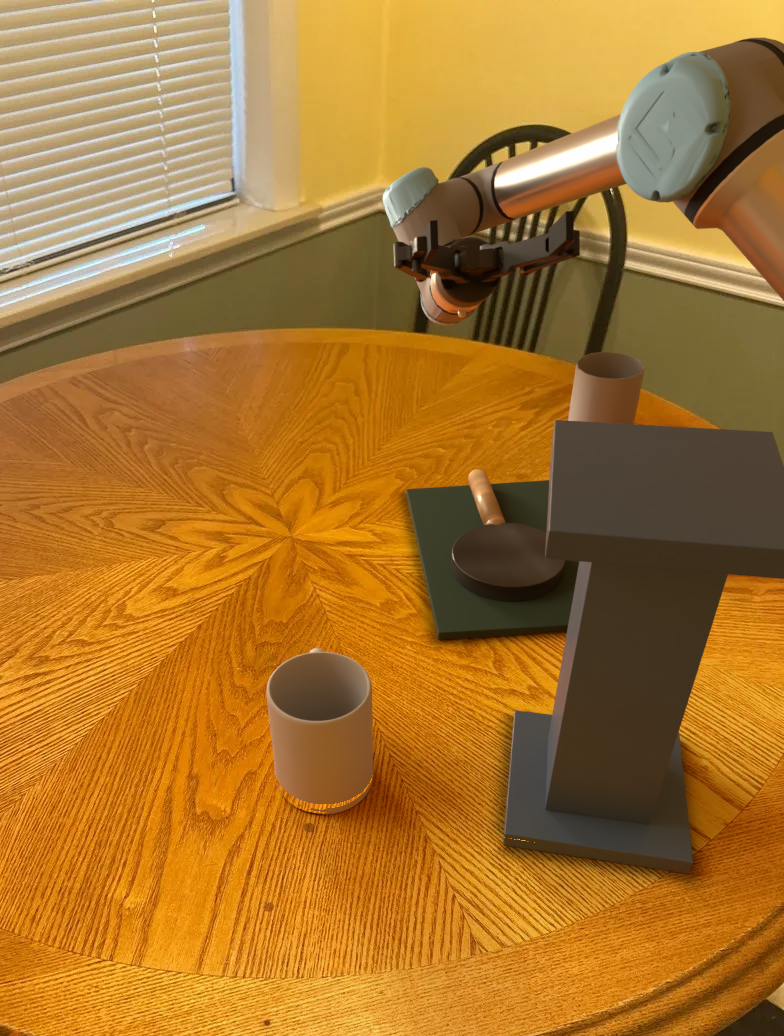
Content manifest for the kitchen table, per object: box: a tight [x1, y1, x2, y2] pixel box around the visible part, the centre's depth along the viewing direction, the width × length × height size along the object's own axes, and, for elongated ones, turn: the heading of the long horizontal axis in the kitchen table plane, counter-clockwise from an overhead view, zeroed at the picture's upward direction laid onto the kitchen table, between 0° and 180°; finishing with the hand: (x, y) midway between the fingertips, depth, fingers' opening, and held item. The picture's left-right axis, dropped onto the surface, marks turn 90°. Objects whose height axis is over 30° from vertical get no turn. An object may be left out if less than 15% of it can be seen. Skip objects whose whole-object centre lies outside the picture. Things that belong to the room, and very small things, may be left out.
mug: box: [266, 647, 375, 815], centre depth 75 cm, size 12×8×11 cm
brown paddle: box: [451, 468, 565, 602], centre depth 101 cm, size 24×12×2 cm, turn 2°
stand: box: [502, 419, 784, 875], centre depth 65 cm, size 14×14×30 cm
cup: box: [567, 351, 646, 424], centre depth 117 cm, size 8×8×10 cm
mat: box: [405, 479, 579, 641], centre depth 101 cm, size 28×18×1 cm, turn 2°
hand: (502, 229), depth 89 cm, fingers open, 13 cm apart
